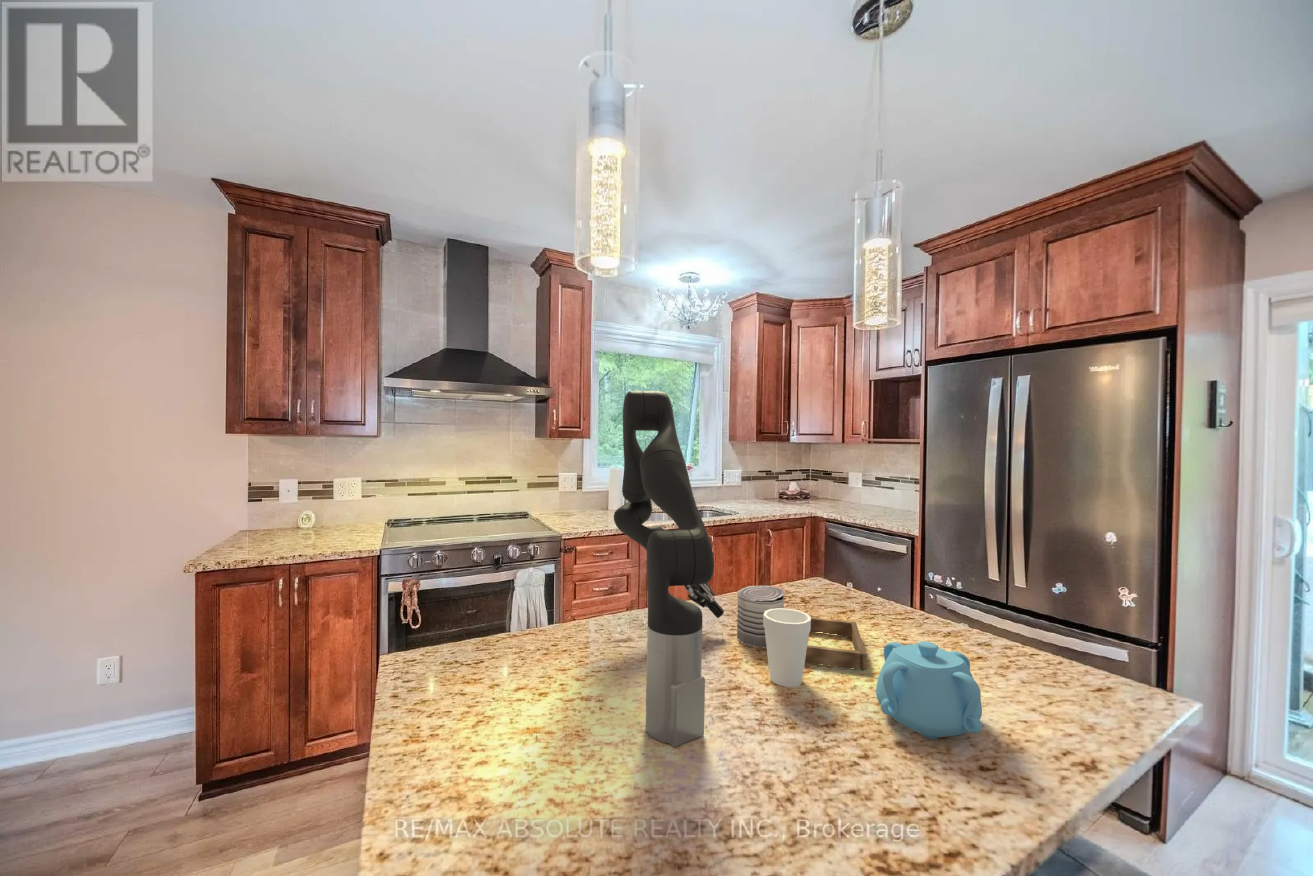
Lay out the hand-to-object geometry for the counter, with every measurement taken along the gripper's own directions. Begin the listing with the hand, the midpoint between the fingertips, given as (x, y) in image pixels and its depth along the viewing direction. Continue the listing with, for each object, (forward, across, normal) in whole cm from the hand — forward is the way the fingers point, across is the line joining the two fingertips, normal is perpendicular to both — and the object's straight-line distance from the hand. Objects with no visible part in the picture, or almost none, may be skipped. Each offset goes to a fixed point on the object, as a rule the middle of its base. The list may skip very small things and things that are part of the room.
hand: (721, 615), depth 128 cm
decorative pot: (+32, -29, -25) cm, 50 cm away
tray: (+19, 0, -12) cm, 23 cm away
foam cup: (+15, -20, -8) cm, 26 cm away
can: (+10, 0, -3) cm, 11 cm away
